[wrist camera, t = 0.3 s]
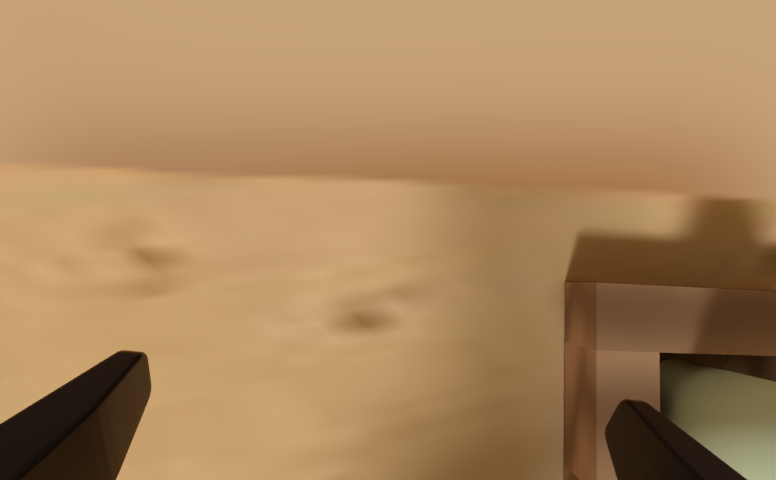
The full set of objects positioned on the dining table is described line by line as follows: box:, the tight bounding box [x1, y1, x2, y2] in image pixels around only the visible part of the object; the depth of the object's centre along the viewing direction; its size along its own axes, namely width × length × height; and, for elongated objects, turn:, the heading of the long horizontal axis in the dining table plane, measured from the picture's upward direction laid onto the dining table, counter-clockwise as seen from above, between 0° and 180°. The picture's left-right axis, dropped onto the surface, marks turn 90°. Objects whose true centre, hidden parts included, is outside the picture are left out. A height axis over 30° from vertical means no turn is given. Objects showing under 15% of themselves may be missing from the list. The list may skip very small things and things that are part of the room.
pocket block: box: [564, 282, 776, 480], centre depth 23 cm, size 13×13×3 cm
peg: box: [660, 359, 776, 480], centre depth 19 cm, size 5×5×11 cm
